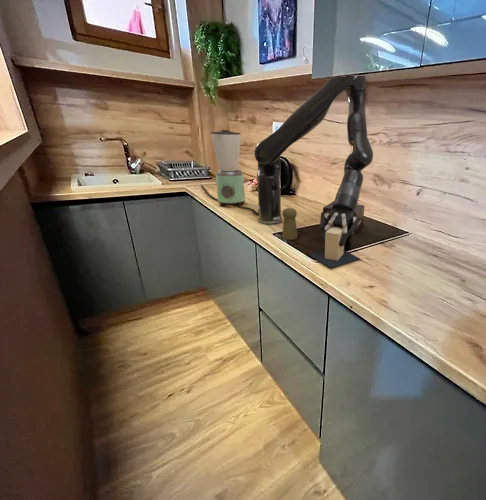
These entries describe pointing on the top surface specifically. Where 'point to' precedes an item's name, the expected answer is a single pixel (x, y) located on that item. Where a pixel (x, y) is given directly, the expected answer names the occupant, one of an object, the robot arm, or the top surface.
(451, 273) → the top surface
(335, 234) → the block
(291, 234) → the olive pepper mill
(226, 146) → the green blender
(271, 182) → the robot arm
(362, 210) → the shelf
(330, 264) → the mat
